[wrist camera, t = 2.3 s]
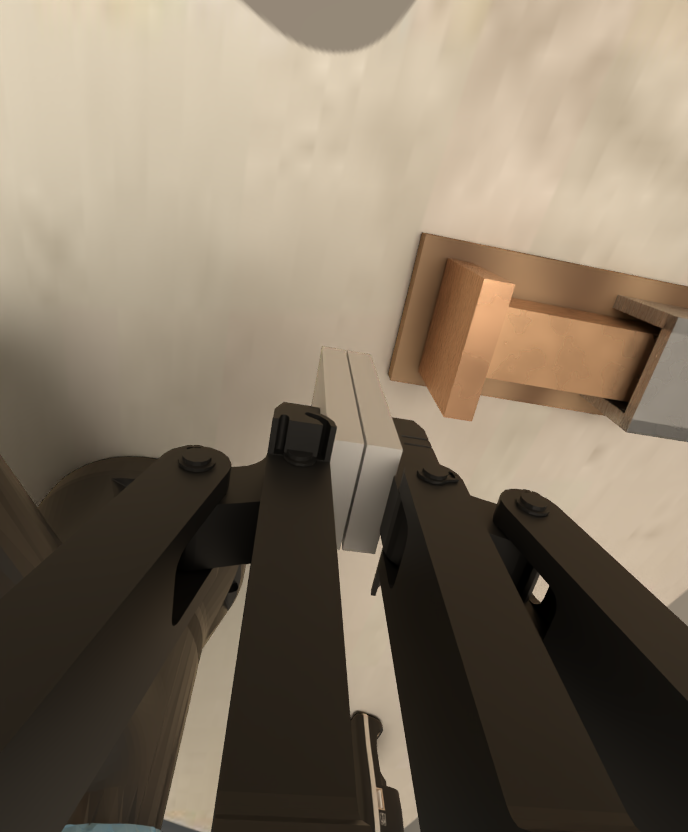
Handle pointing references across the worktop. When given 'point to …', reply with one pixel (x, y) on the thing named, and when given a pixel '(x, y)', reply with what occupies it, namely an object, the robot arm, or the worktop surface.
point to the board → (532, 282)
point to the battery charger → (373, 778)
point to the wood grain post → (524, 344)
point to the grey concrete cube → (655, 376)
